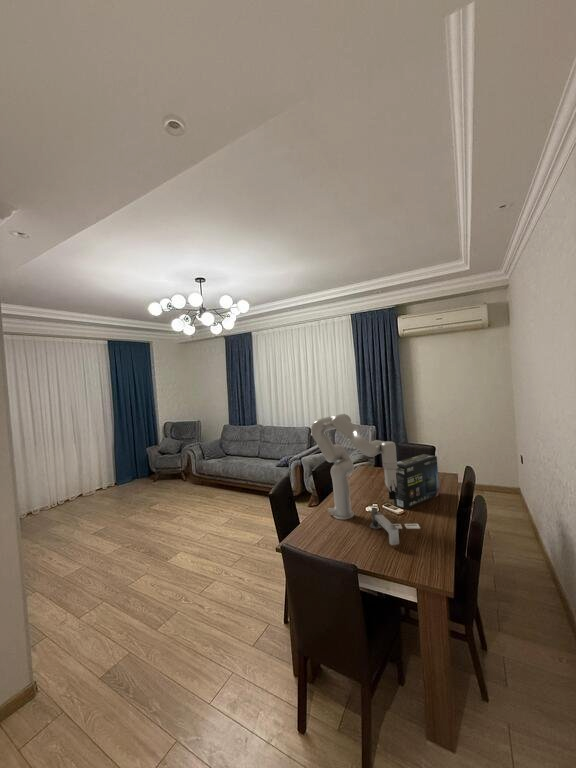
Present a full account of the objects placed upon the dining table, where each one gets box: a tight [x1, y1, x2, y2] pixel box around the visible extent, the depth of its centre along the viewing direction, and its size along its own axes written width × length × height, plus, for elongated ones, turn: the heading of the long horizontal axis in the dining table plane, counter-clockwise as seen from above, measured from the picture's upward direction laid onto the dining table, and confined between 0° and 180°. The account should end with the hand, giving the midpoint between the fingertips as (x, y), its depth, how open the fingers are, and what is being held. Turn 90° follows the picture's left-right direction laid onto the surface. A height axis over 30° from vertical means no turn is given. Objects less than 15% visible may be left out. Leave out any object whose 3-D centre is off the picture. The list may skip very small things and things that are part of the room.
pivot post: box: [369, 506, 382, 530], centre depth 166 cm, size 6×6×10 cm
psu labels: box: [392, 523, 421, 530], centre depth 163 cm, size 16×5×1 cm, turn 81°
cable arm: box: [371, 511, 400, 546], centre depth 153 cm, size 20×4×7 cm, turn 8°
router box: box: [392, 453, 440, 510], centre depth 198 cm, size 36×11×27 cm, turn 123°
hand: (392, 498), depth 164 cm, fingers closed
